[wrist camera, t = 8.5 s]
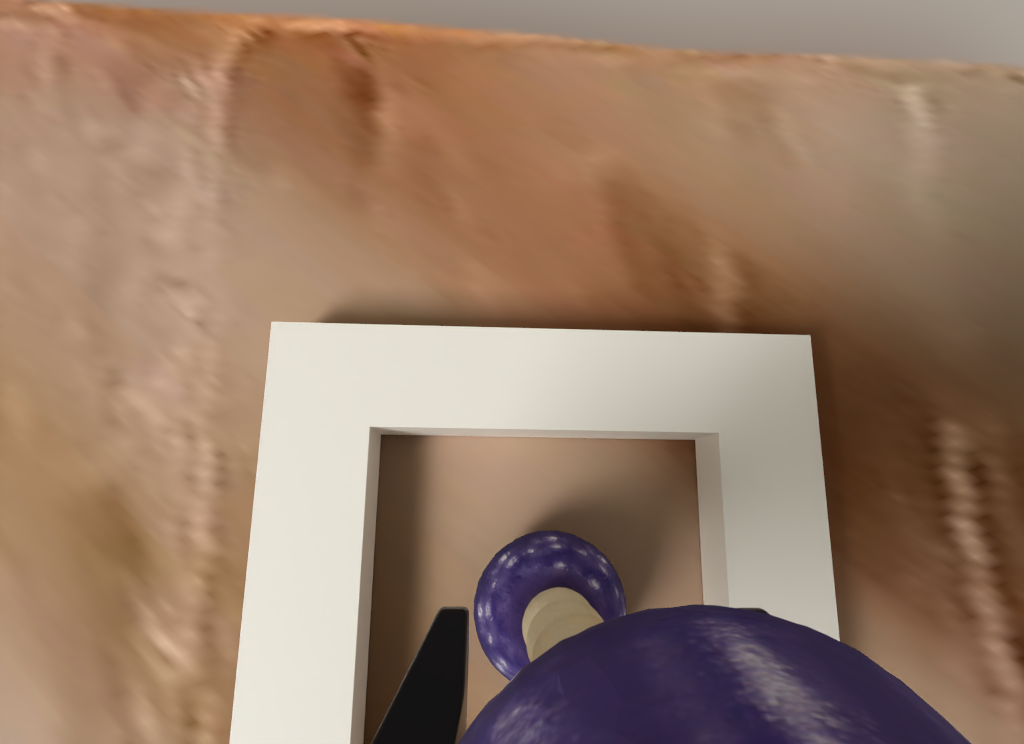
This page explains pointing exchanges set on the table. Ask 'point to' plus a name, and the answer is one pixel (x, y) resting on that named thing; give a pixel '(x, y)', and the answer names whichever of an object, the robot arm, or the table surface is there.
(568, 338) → the cutout frame
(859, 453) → the table surface
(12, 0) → the table surface
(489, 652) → the toy lamp
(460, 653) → the robot arm
